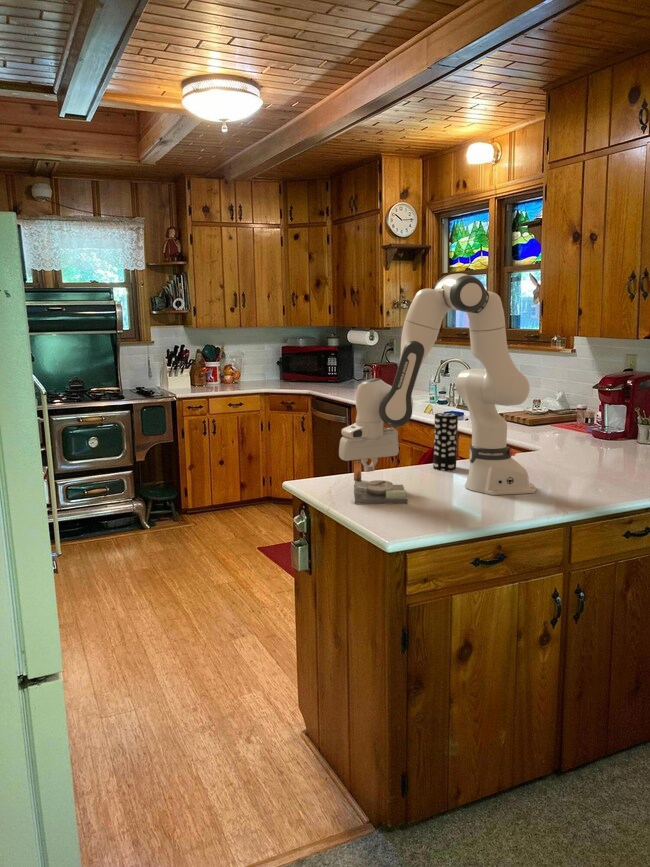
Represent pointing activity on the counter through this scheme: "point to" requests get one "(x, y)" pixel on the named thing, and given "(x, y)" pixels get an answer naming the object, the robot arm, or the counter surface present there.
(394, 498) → the plate
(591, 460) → the counter surface
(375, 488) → the copper silver knob
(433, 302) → the robot arm
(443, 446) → the spotted tube
